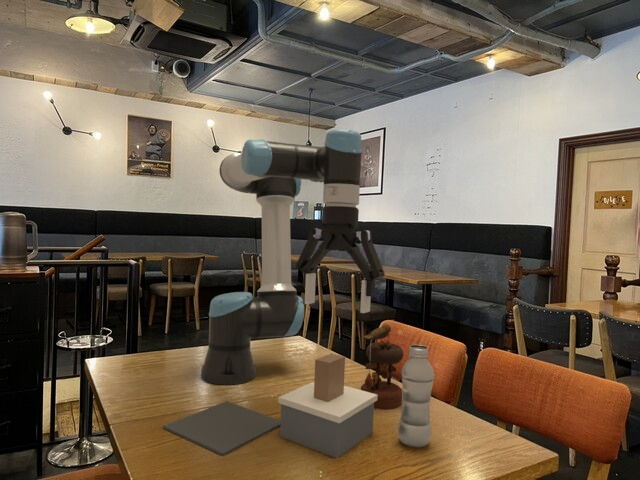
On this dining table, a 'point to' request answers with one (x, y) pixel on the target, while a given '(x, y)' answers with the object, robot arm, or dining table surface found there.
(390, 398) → the music box
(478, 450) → the dining table surface
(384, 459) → the dining table surface
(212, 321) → the robot arm
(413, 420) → the plastic bottle
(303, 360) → the dining table surface
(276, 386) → the dining table surface
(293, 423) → the box
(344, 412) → the lid
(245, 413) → the mat
